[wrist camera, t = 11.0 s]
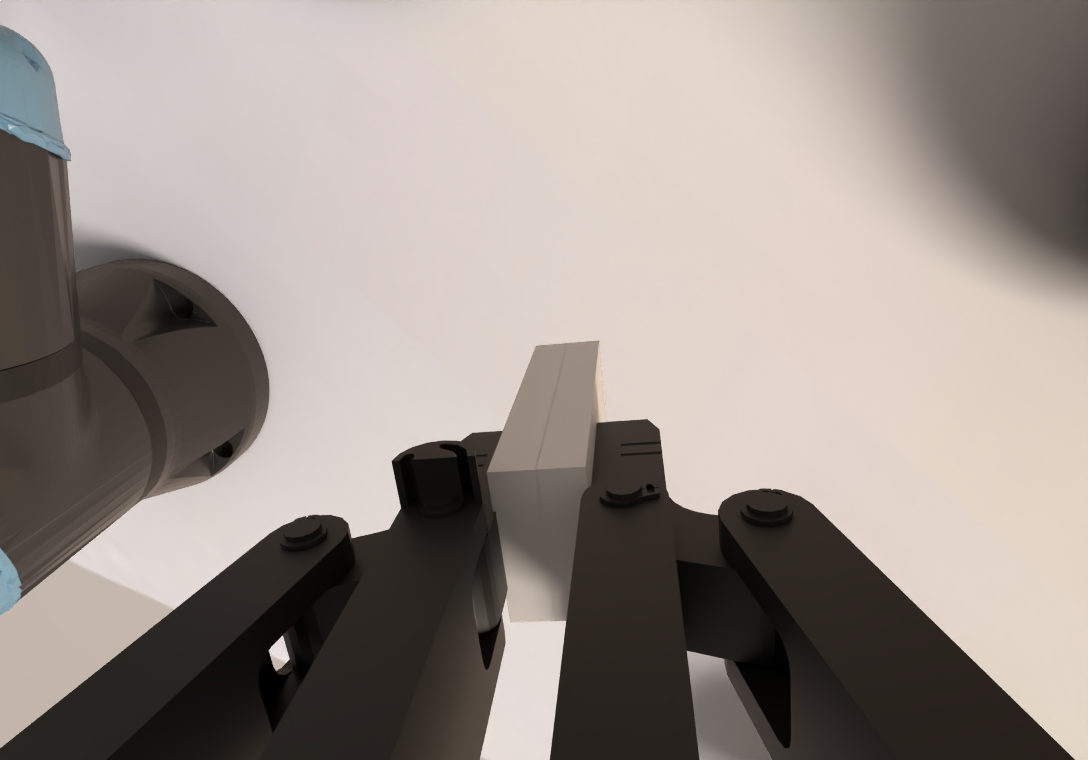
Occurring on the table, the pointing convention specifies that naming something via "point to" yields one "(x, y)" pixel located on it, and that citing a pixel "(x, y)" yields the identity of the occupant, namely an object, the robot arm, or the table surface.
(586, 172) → the table surface
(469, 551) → the robot arm
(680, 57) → the table surface
